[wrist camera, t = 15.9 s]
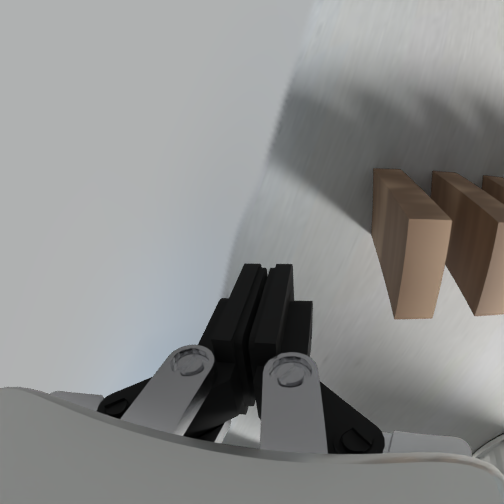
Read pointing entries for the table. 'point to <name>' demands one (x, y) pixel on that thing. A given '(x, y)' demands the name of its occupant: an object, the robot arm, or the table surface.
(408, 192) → the domino
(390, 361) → the table surface
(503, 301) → the domino
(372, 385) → the table surface
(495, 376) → the table surface
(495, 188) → the domino
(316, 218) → the table surface
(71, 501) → the robot arm
